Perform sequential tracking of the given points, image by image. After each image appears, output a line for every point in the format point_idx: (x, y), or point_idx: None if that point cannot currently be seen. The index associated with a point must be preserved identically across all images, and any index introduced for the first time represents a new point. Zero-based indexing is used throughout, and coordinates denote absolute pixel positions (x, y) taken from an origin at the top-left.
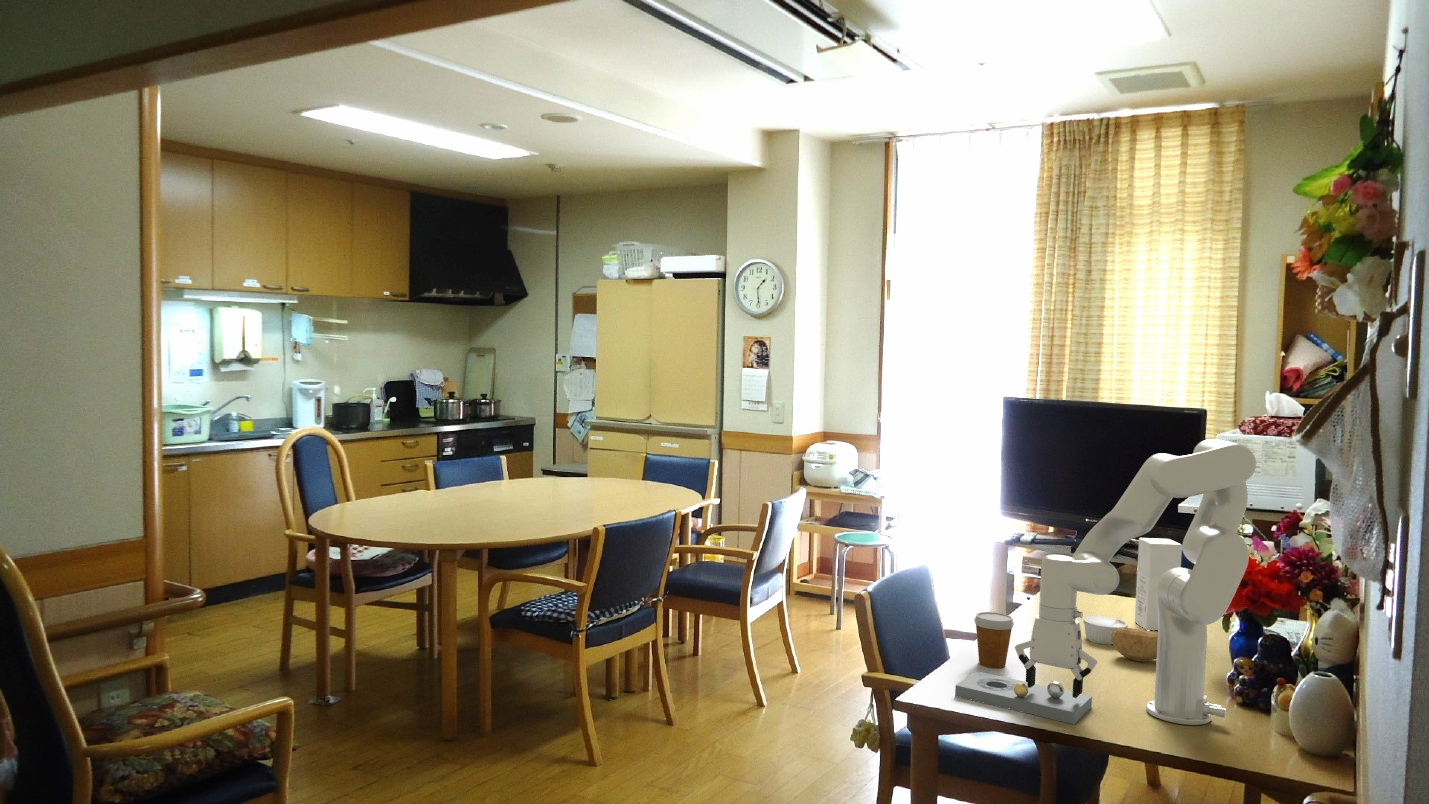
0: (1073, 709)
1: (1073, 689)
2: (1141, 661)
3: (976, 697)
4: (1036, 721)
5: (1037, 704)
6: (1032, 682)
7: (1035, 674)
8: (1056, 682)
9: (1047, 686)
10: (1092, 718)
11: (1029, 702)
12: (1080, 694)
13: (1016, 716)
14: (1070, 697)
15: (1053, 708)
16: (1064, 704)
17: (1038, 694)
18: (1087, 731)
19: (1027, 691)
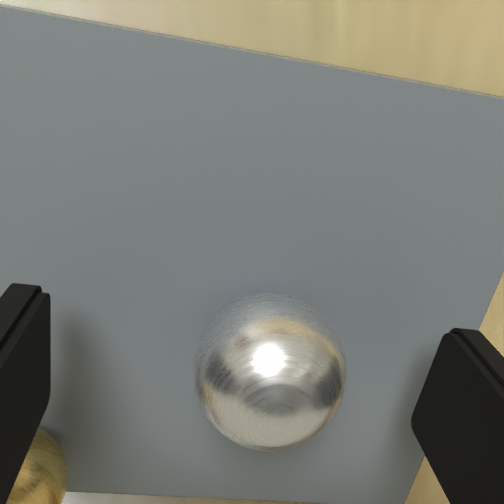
0: (396, 469)
1: (442, 479)
2: None
3: None
4: (191, 501)
5: (170, 493)
6: (37, 387)
7: (11, 355)
8: (286, 433)
9: (196, 394)
10: (485, 314)
11: (114, 491)
12: (469, 121)
13: (78, 493)
14: (378, 256)
15: (274, 497)
16: (338, 419)
17: (123, 321)
18: (438, 491)
19: (62, 497)
